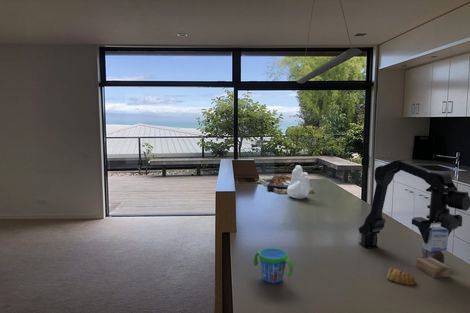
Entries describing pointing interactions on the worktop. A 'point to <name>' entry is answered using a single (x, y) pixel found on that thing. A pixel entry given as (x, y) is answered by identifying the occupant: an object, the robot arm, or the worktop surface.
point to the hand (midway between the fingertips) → (434, 242)
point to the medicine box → (437, 239)
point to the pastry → (400, 276)
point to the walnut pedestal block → (433, 267)
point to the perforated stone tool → (433, 255)
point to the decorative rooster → (298, 183)
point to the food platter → (279, 182)
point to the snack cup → (273, 264)
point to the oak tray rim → (264, 182)
